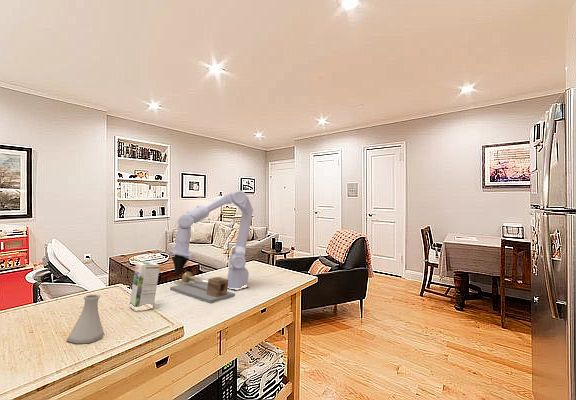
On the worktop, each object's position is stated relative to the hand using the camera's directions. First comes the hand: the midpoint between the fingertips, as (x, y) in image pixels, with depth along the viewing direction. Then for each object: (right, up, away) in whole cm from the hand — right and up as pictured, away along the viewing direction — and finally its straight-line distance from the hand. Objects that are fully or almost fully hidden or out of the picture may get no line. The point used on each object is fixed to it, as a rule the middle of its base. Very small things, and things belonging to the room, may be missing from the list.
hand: (178, 273), depth 124 cm
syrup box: (0, -3, -32) cm, 32 cm away
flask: (-1, -2, -55) cm, 55 cm away
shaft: (+11, -4, -7) cm, 14 cm away
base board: (+13, -6, -8) cm, 16 cm away
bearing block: (+20, -5, -12) cm, 23 cm away
